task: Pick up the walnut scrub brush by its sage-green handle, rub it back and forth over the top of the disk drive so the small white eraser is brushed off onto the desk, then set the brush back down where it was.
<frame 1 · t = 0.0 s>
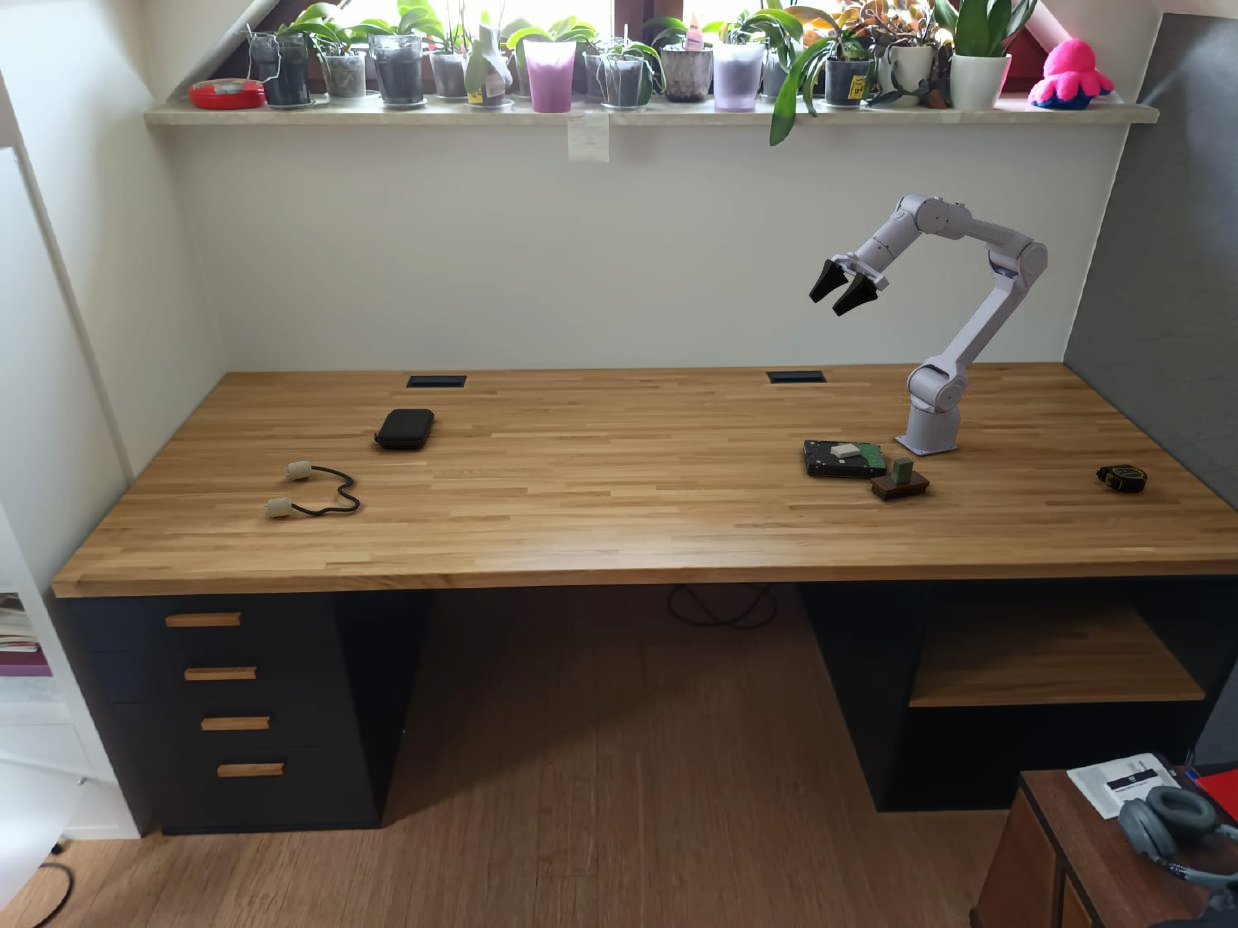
hand: (823, 305, 152), 32 cm above the table, tool tilted 50°, fingers open, 7 cm apart
eraser: (845, 453, 167), point 3 cm above the table, touching disk drive
tape measure: (1117, 487, 162), on the table
cable: (318, 495, 157), on the table
disk drive: (843, 466, 168), on the table, touching eraser
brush: (898, 491, 160), on the table
carrying case: (404, 435, 178), on the table
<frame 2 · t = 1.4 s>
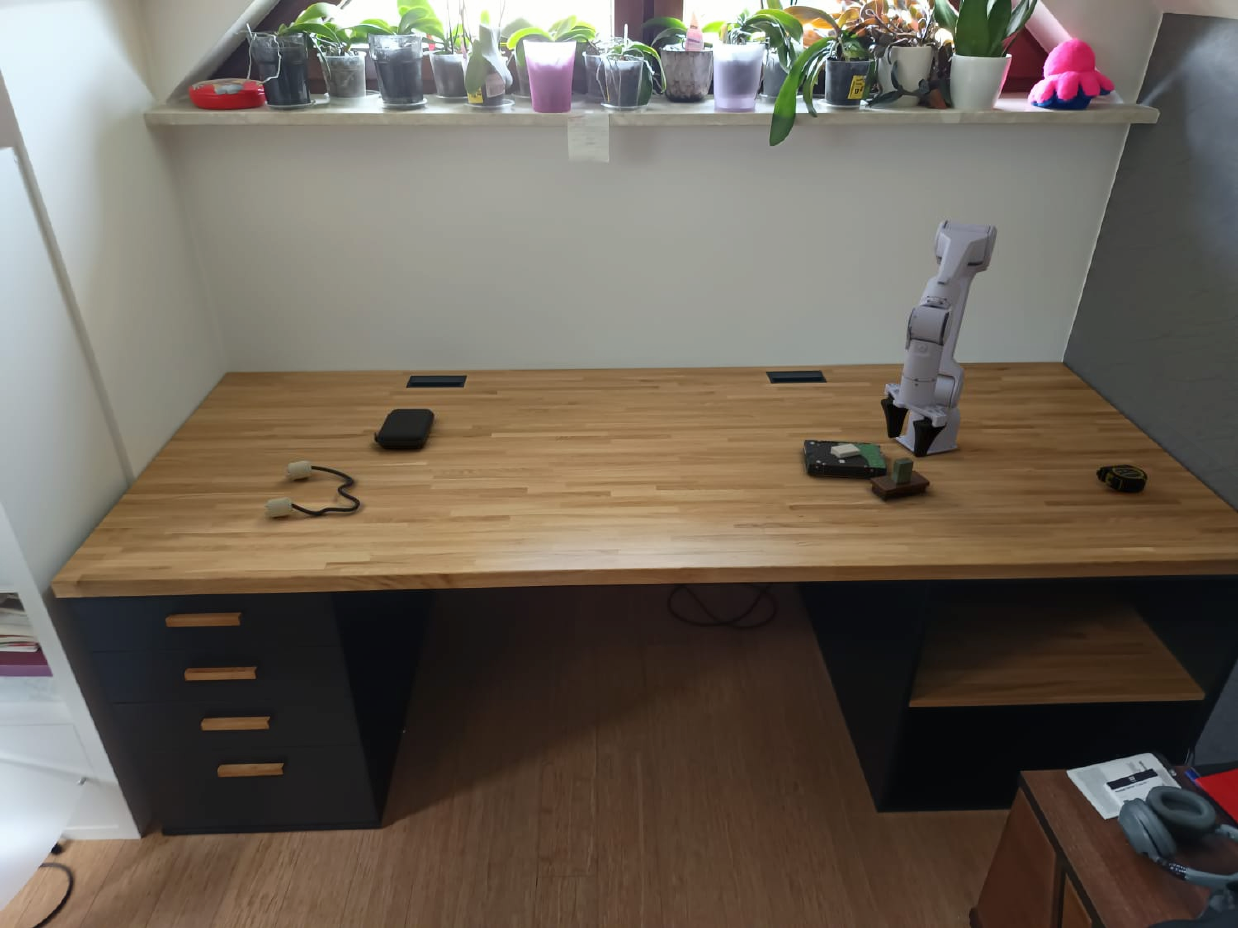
hand: (906, 446, 155), 9 cm above the table, tool pointing down, fingers open, 7 cm apart
nothing on the table moved.
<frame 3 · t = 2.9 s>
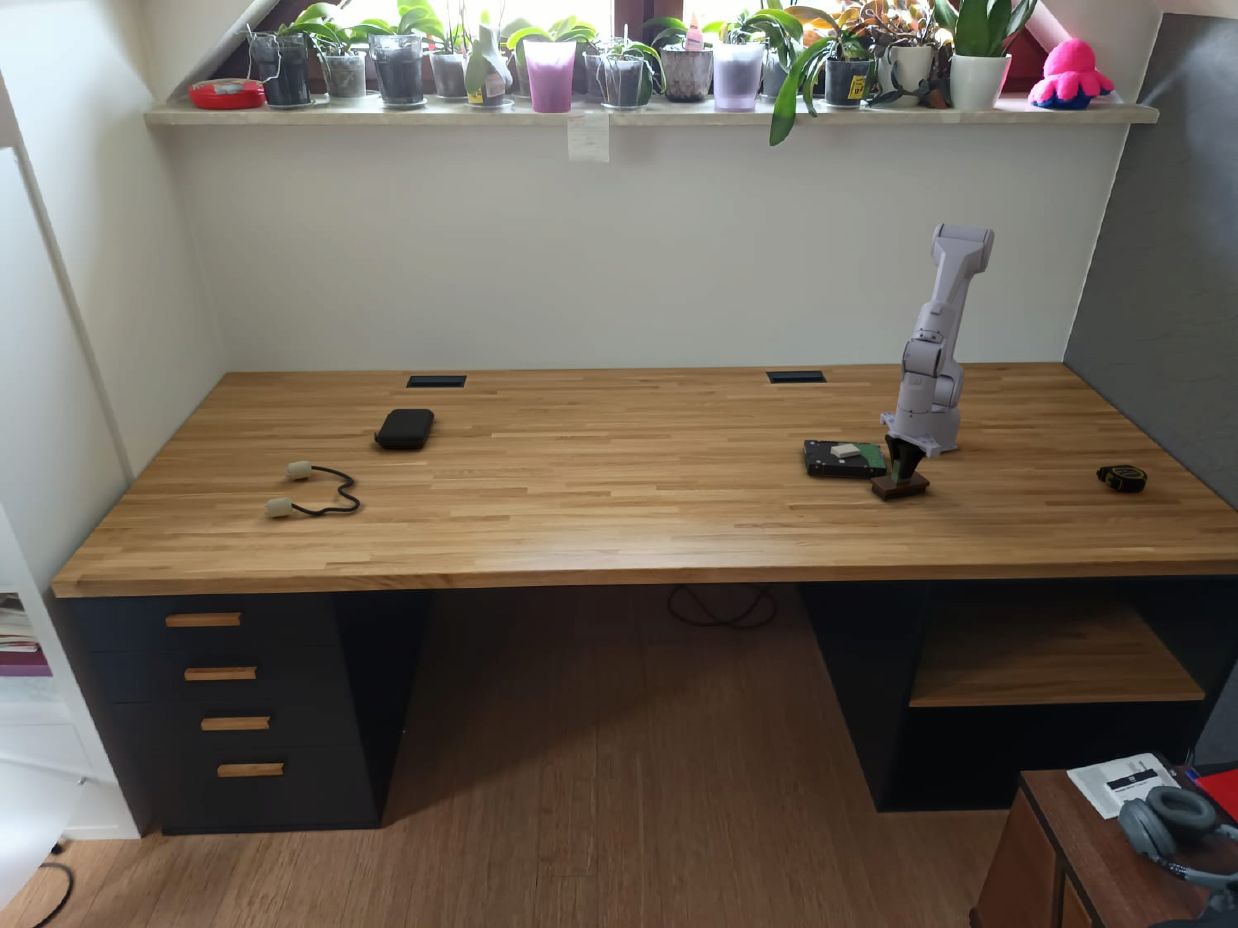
hand: (901, 474, 158), 4 cm above the table, tool pointing down, fingers closed on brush
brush: (898, 491, 160), on the table, touching gripper
everything else where it was.
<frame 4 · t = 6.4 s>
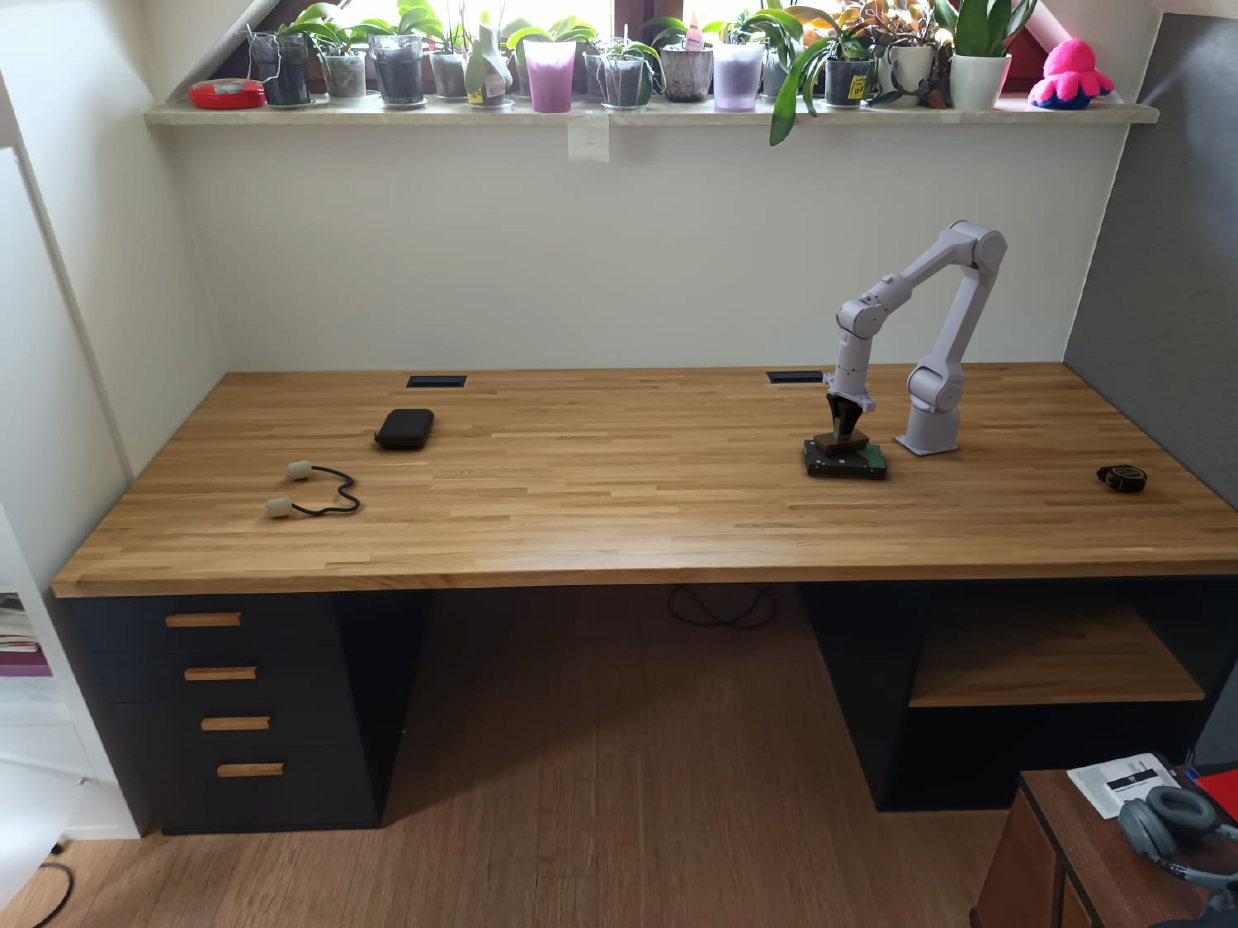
hand: (842, 431, 167), 6 cm above the table, tool pointing down, fingers closed on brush
eraser: (829, 441, 171), point 3 cm above the table, touching disk drive
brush: (839, 448, 168), point 3 cm above the table, touching gripper
everything else where it was.
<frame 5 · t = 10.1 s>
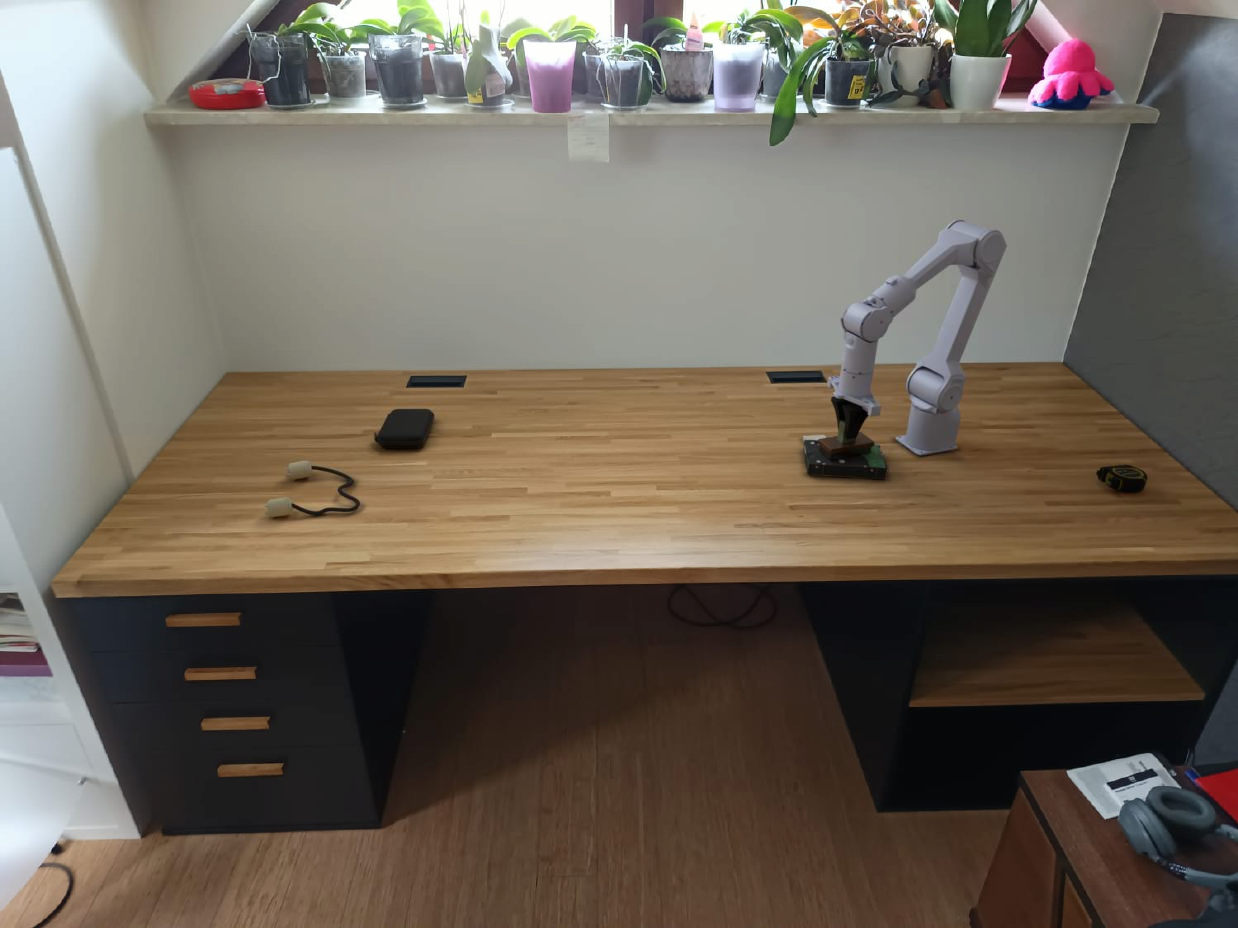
hand: (847, 435, 165), 6 cm above the table, tool pointing down, fingers closed on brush
eraser: (816, 438, 176), point 1 cm above the table, tilted 180°
disk drive: (843, 466, 168), on the table
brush: (844, 452, 167), point 3 cm above the table, touching gripper
everything else where it was.
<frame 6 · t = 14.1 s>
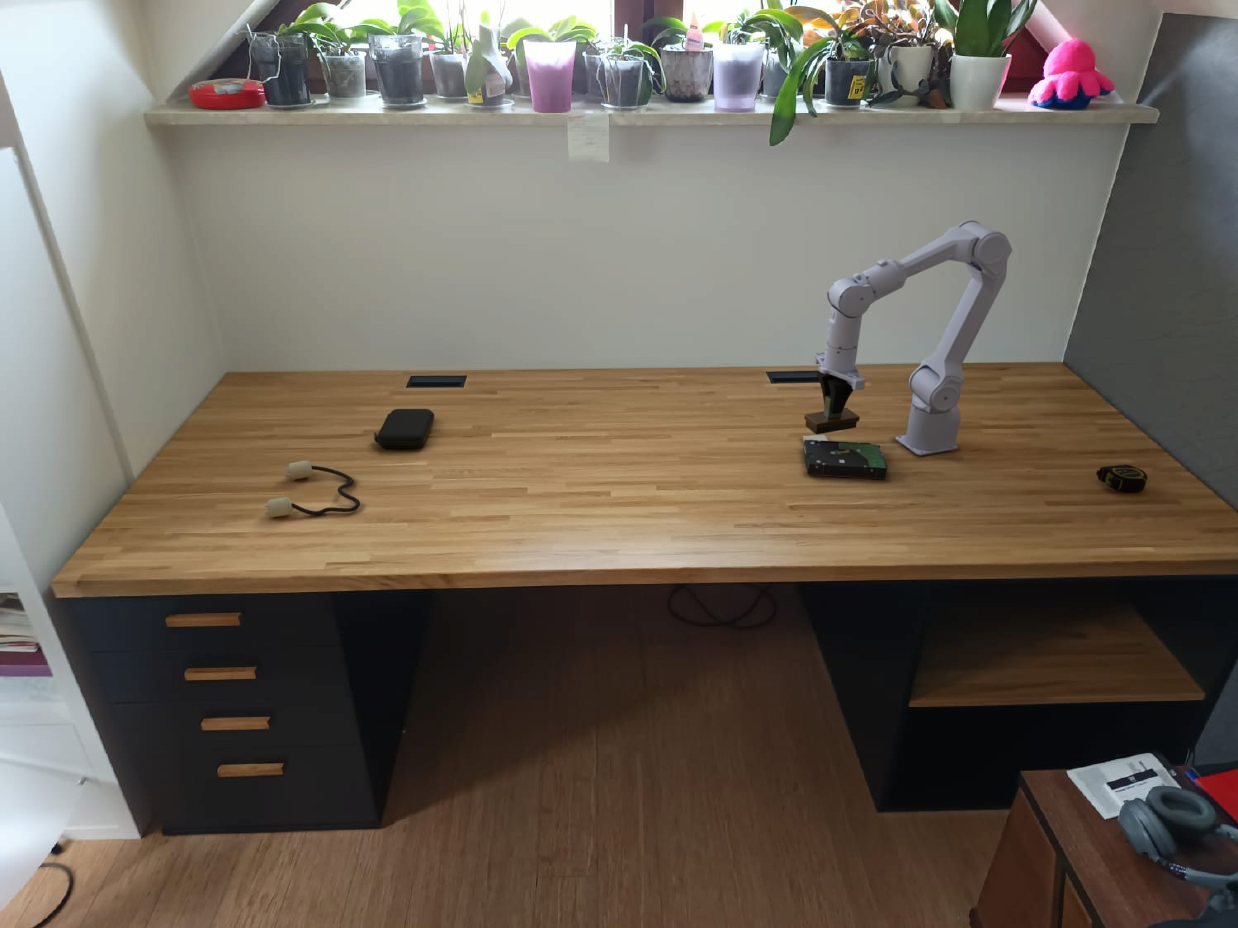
hand: (833, 410, 169), 9 cm above the table, tool pointing down, fingers closed on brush
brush: (830, 427, 170), point 6 cm above the table, touching gripper
everything else where it was.
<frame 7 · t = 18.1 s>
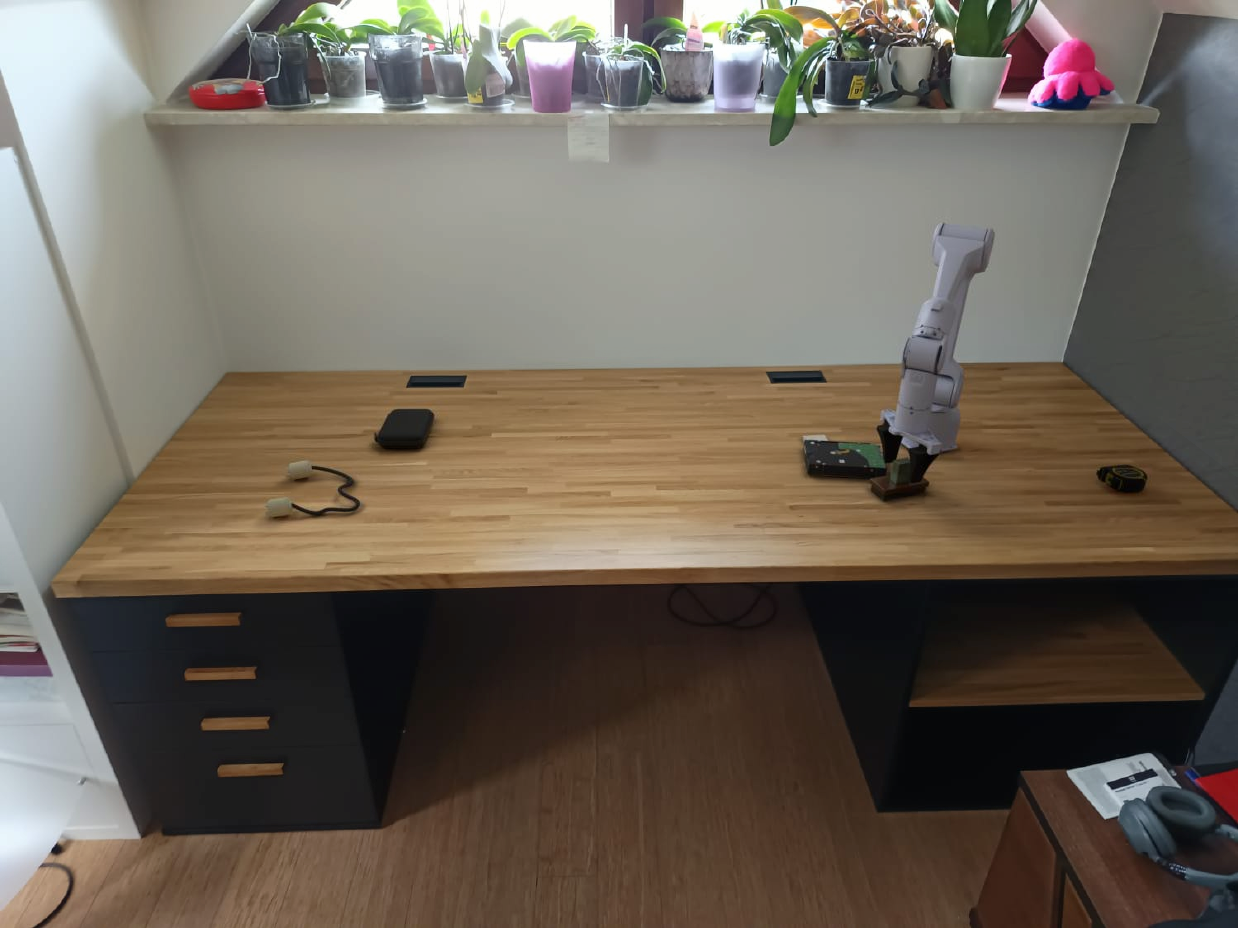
hand: (902, 471, 158), 4 cm above the table, tool pointing down, fingers open, 7 cm apart
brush: (897, 491, 160), on the table
everything else where it was.
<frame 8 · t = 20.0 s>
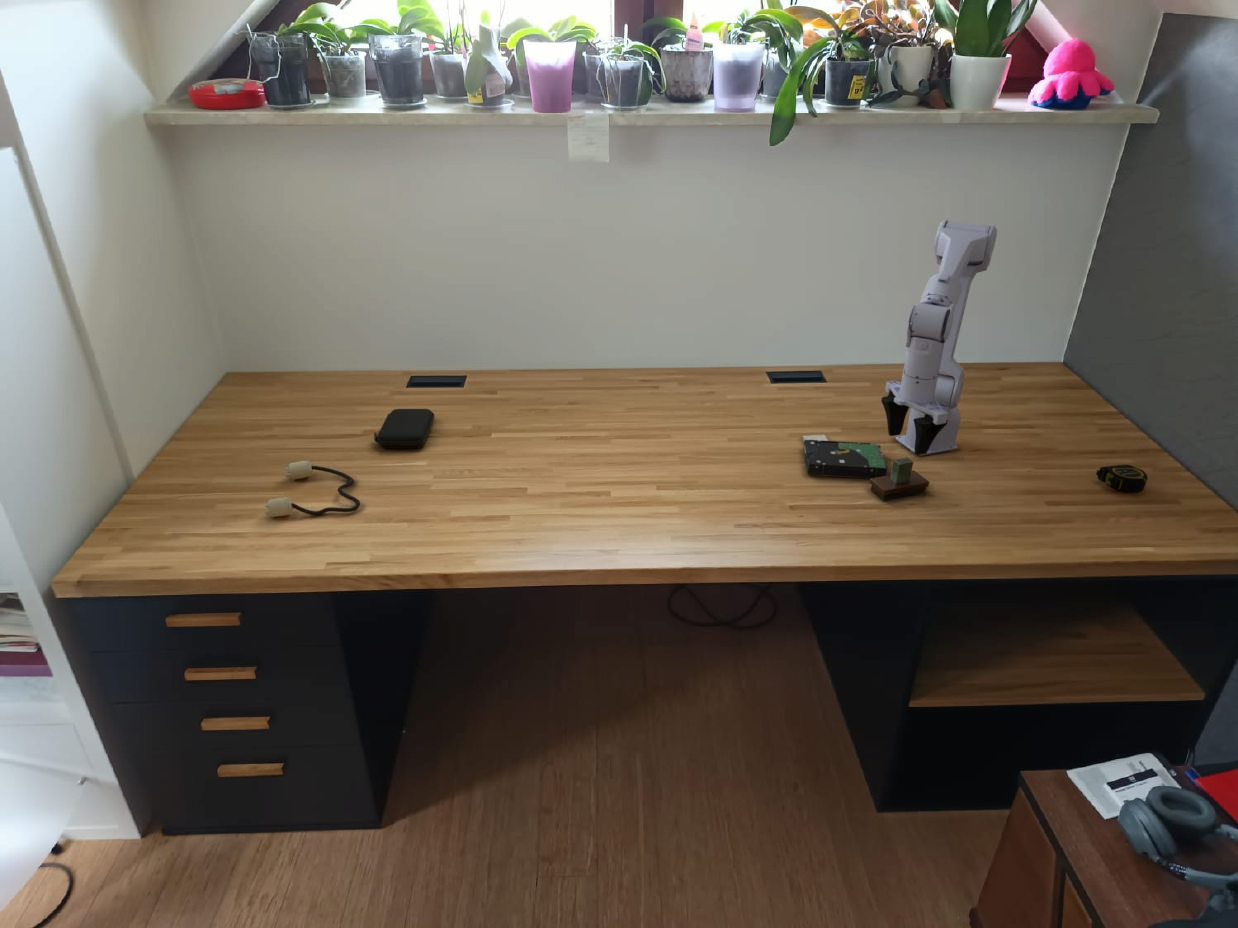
hand: (907, 443, 155), 10 cm above the table, tool pointing down, fingers open, 7 cm apart
nothing on the table moved.
at the end: eraser point 1.0 cm above the table; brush inside the target area (0.2 cm from its centre), on the table; disk drive moved 0.2 cm from its start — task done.
